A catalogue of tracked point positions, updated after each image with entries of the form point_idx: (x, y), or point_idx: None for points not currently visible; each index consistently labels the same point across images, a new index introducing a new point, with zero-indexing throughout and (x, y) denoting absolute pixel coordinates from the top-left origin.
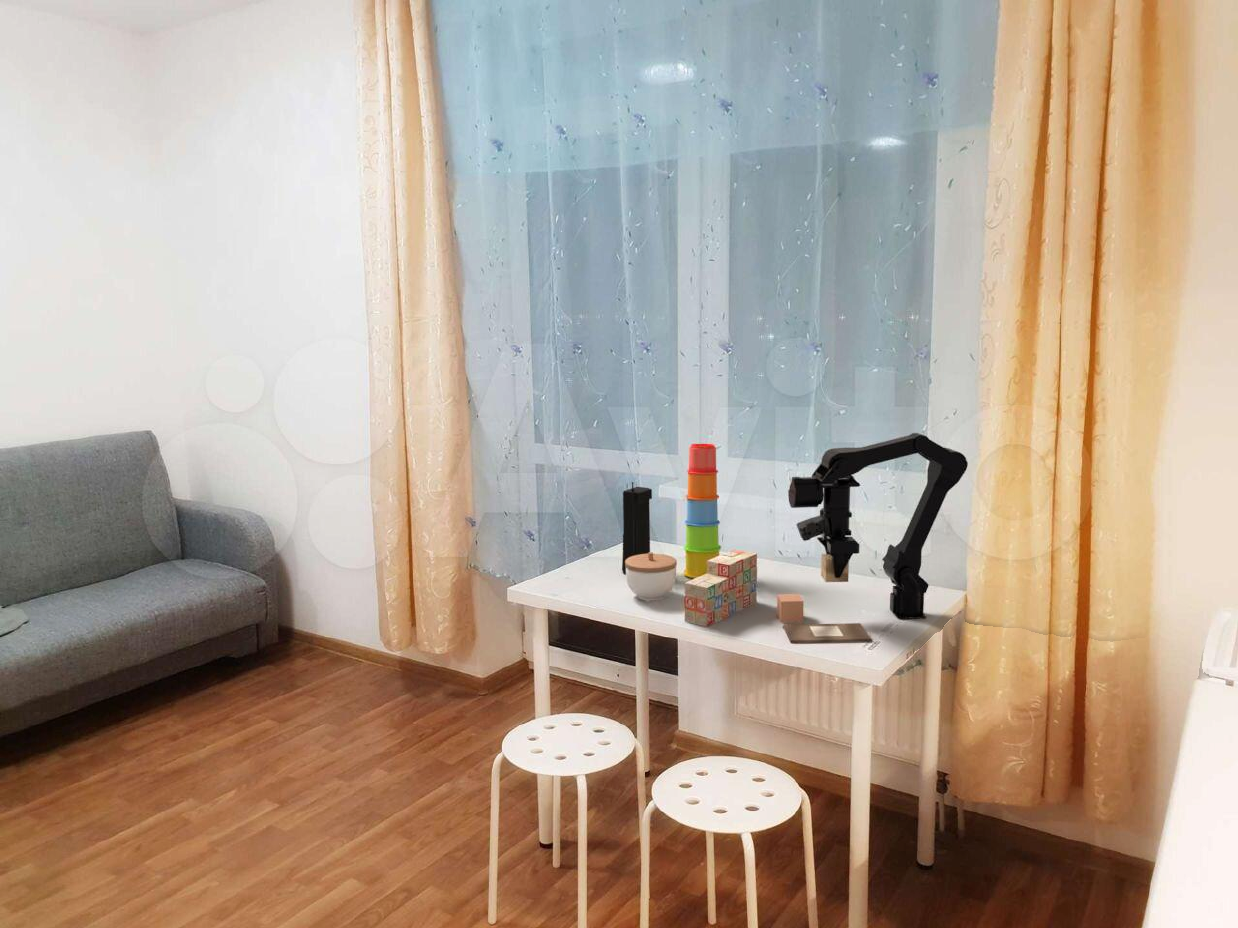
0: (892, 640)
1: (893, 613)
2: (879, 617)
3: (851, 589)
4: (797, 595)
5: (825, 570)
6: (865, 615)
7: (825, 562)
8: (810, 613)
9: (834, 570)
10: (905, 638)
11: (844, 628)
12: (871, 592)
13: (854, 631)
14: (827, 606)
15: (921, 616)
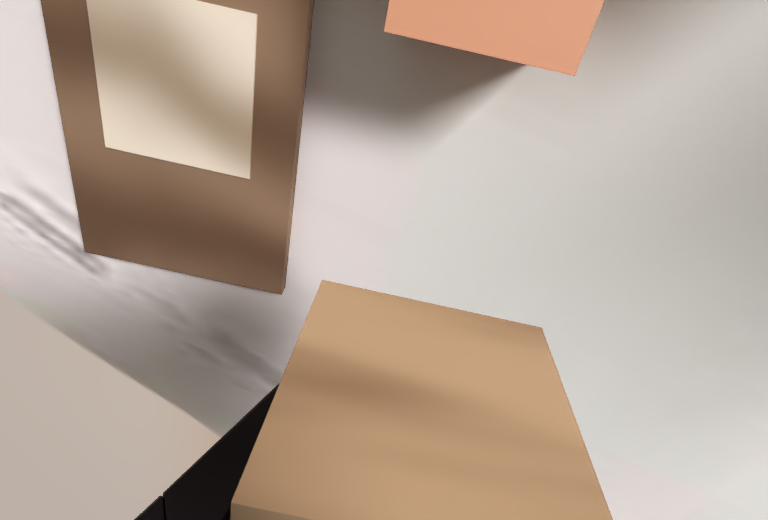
0: (116, 320)
1: None
2: None
3: (732, 448)
4: (547, 41)
5: (318, 364)
6: None
7: (304, 462)
8: (521, 140)
9: (230, 431)
10: (139, 365)
11: (219, 200)
12: (648, 484)
13: (177, 225)
14: (583, 271)
15: None
